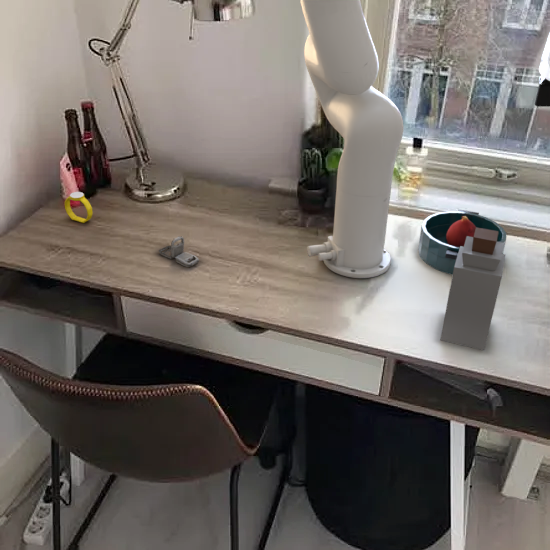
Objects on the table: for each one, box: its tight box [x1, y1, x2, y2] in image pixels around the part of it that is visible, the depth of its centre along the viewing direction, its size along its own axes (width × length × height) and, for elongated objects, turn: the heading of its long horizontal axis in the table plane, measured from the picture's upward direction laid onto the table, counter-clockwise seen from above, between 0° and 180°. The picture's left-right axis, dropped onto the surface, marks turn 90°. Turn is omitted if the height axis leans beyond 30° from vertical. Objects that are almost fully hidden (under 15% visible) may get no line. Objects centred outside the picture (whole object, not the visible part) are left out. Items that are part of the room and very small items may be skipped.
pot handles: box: [445, 209, 480, 260], centre depth 122 cm, size 19×4×1 cm, turn 160°
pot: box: [417, 210, 508, 276], centre depth 123 cm, size 15×15×6 cm
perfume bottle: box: [439, 227, 506, 351], centre depth 99 cm, size 7×7×18 cm
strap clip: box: [158, 235, 200, 268], centre depth 121 cm, size 8×3×4 cm, turn 50°
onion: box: [446, 216, 476, 247], centre depth 122 cm, size 6×6×8 cm
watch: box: [64, 191, 94, 224], centre depth 132 cm, size 6×3×6 cm, turn 66°
